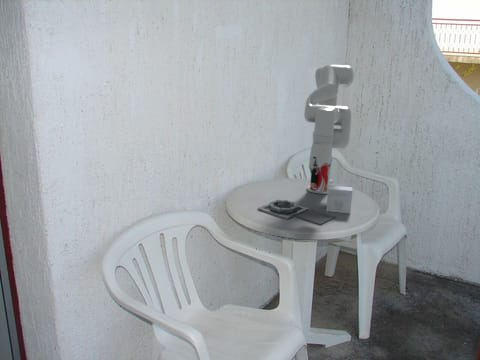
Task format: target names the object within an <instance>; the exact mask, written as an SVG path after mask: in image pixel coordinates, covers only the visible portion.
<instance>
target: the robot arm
mask: <svg viewBox="0 0 480 360" xmlns="http://www.w3.org/2000/svg"><path fill="white" fill-rule="evenodd" d="M354 72H355V71H354V68H353V67H352V66H350V65H345V64H343V65H342V64H327V65H324V66H322V67H318V68H317V69H316V71H315V75H314V79H315V85H316V89H314V91H312V92H311V93H310V94H309V95H308V97H307V99H306V101H305V108H304V114H303V115H304V119H305V121H306V122H307V123H310V124H311V123H312V124H314V129H313V131H312V132H313V133H312V145H311V149H310V155H309V160H308V161H309V163H308V168H309V171H310V182H311V183H315V184H318V176H319V174H318V171H319V168H321V167H322V166H323V165H326V164H328V166H329V176H328V185H327V190H326V191H324V192H322V193H317V192H314V191H312V190H311V189H310V184H309V185H306V190H307V191H308V192H311V193H314V194H319V195H328V186H329V185H333V183H334V180H333V179H331V176H332V175H331V174H332V164H333V155H332V154H333V149H340V150H341V149H342V150H343V149H347V148H348V147H349V144H350V136H351V135H350V134H351V126H352V125H351V124H352V111H351V109H350V107H349V106H346V105H345V106H344V105H337V101H338V100H337V99H338V94H339V87H345V88H346V87H350V86H351V85H352V83H353V82H354V78H355V73H354ZM334 126H335V127H339V128H334ZM315 165H317V166H315ZM314 168H317V169H316V170H315V169H314Z"/></svg>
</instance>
